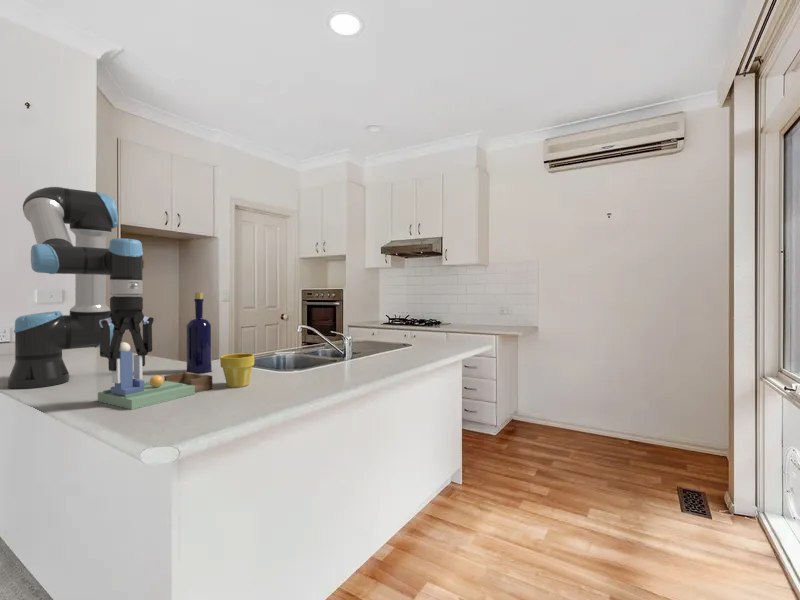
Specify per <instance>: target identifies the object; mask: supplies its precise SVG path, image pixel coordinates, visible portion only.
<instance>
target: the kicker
mask: <svg viewBox="0 0 800 600" xmlns="http://www.w3.org/2000/svg"><path fill="white" fill-rule="evenodd" d="M117 358H119V359H120V363H121V383H114V386H111V387H110V389H111V393H114V394H119V395H128V394H132V393H137V392H142V391H144V383H145V380H143V379H135V378H134V359H133V350H131V345H130V343H127V342H126V341H125V342H124V341H121V344H120V348H119V352H118V356H117Z"/></svg>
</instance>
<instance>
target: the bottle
mask: <svg viewBox="0 0 800 600" xmlns="http://www.w3.org/2000/svg"><path fill="white" fill-rule="evenodd" d="M193 302H194V308H195V309H194V312H195V313H194V314H195V318H193V319H191V320H190V321H188V323H187V324H186V372H189V373H196V374H203V375H204V374H208V373H211V372H213V371H212V370H213V369H212V365H213V364H212V357H213V356H212V323H211V322H210V321H209V320H208V319H207V318H204V316H203V314H204V307H203V306H204V292H194V298H193Z"/></svg>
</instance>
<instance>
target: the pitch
mask: <svg viewBox="0 0 800 600" xmlns="http://www.w3.org/2000/svg"><path fill="white" fill-rule="evenodd" d="M193 395H195V386H193V385H187V384H183V383H175V382H169V381H163V384H162V385H161V386H160V387H152V386H151V385H150V381H146V382H144V391H142V392H137V393H132V394H128V395H119V394H114V393H111V388H110V389H106V390H103V391H99V392H97V402H98V401H99V402H98V403H102V402H103V403H102V404H106V403H108V404H107V405H110V404H112V405H111V406H114V405H116V407H119V406H120V407H119V408H123V407H124V409H128V410H137V409H140V408H143V407H147V406H148V407H149V406H152V405H157V404H159V403H164V402H167V401H172V400H177V399H181V398H185V397H188V396H193ZM139 407H140V408H139Z"/></svg>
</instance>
